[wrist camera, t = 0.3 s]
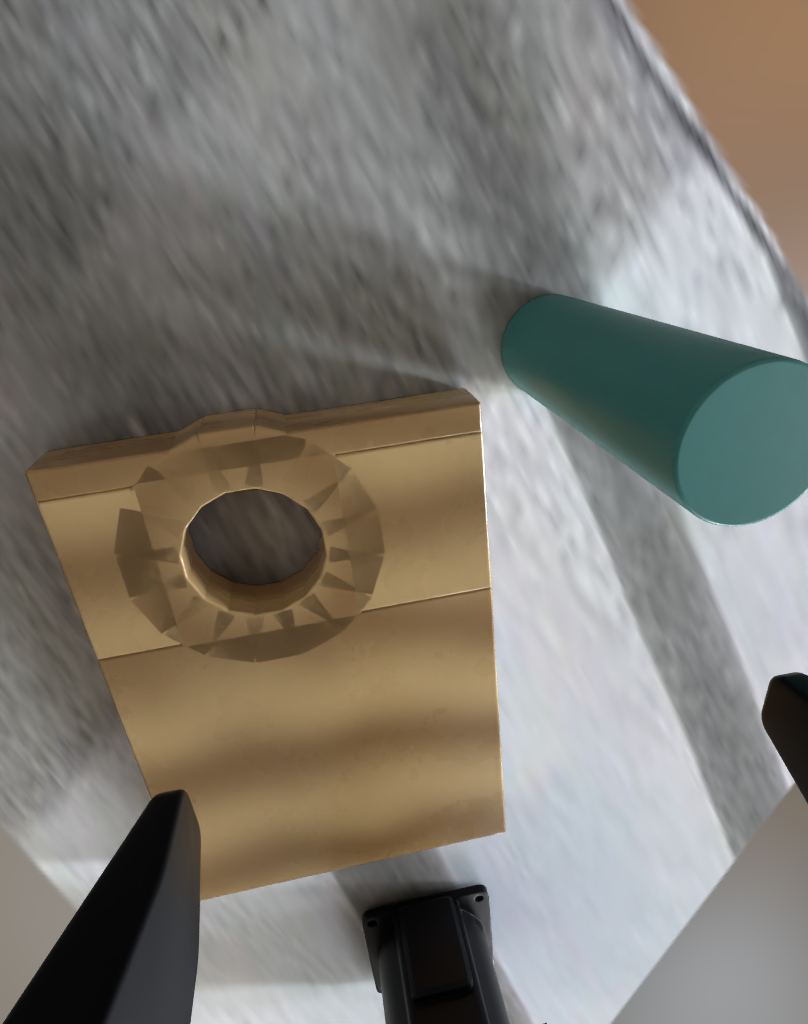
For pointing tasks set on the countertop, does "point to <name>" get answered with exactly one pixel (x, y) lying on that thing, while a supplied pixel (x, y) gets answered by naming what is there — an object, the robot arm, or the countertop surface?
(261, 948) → the countertop surface
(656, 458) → the peg
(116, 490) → the board
